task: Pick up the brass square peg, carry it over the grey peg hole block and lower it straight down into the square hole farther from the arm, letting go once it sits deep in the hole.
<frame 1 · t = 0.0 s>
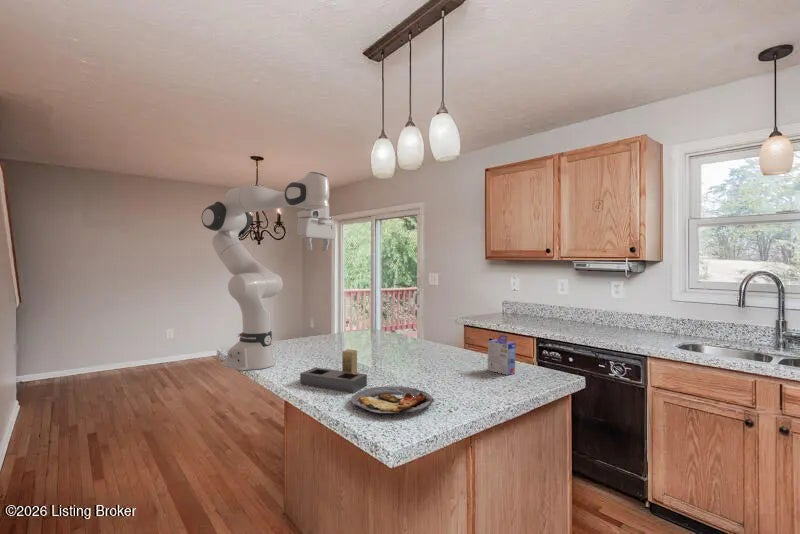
hand: (317, 250, 156), 48 cm above the countertop, tool pointing down, fingers open, 8 cm apart
grey peg hole block: (333, 385, 143), on the countertop
ink cartridge box: (501, 372, 162), on the countertop
food plate: (392, 405, 125), on the countertop
square peg: (349, 377, 154), on the countertop
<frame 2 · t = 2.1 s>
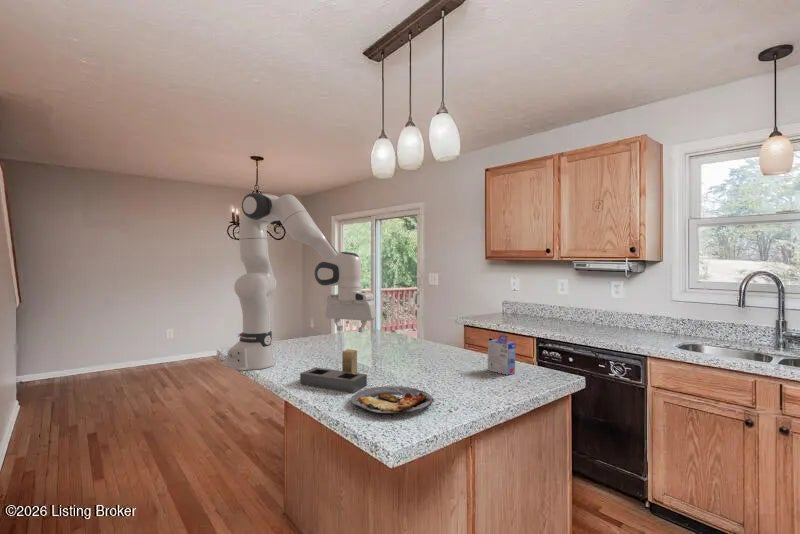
hand: (350, 331, 153), 17 cm above the countertop, tool pointing down, fingers open, 8 cm apart
nothing on the countertop moved.
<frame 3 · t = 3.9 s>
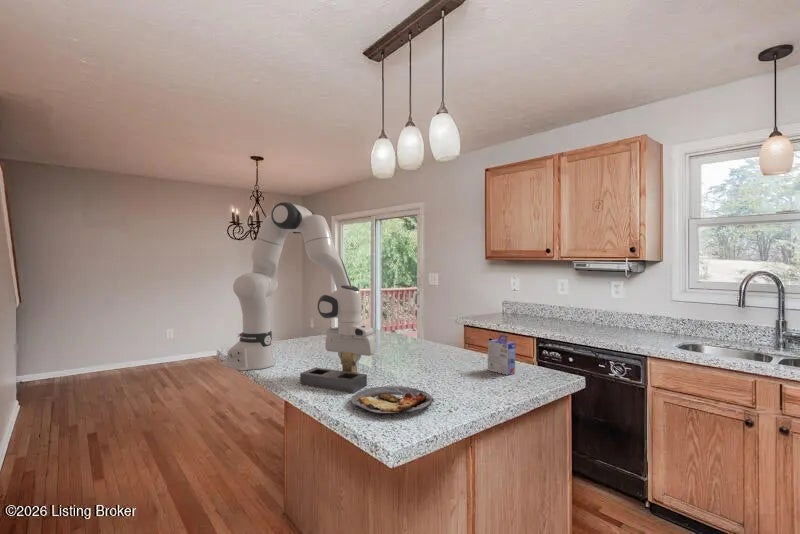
hand: (349, 364, 153), 5 cm above the countertop, tool pointing down, fingers closed on square peg, 4 cm apart
square peg: (349, 377, 154), on the countertop, touching gripper
everything else where it was.
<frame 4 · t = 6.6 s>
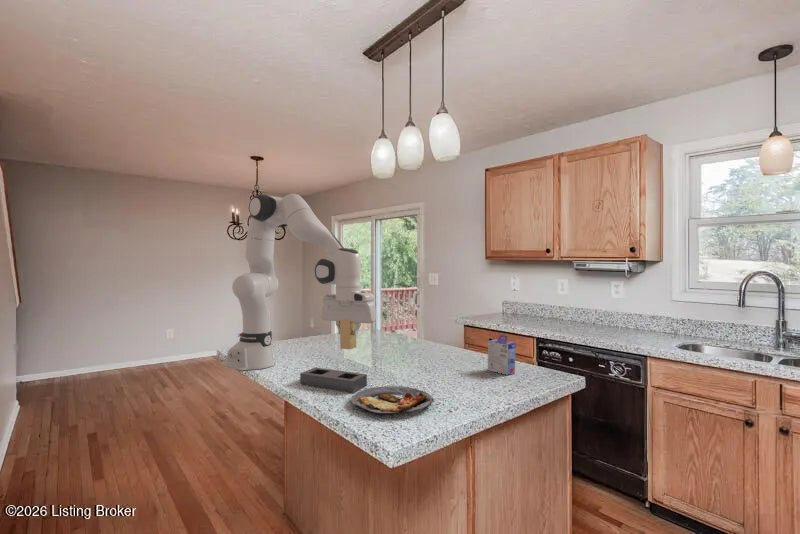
hand: (348, 334, 141), 18 cm above the countertop, tool pointing down, fingers closed on square peg, 4 cm apart
square peg: (348, 347, 141), point 14 cm above the countertop, touching gripper
everything else where it was.
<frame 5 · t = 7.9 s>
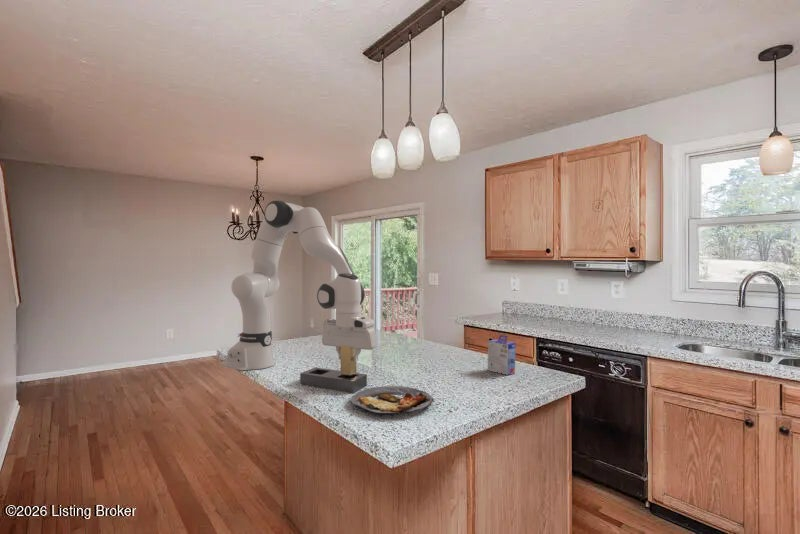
hand: (348, 360, 141), 10 cm above the countertop, tool pointing down, fingers closed on square peg, 4 cm apart
square peg: (348, 373, 141), point 5 cm above the countertop, touching gripper
everything else where it was.
when the fingers open (6 cm above the countertop, at t = 8.9 s): square peg drops 1 cm, resting in grey peg hole block.
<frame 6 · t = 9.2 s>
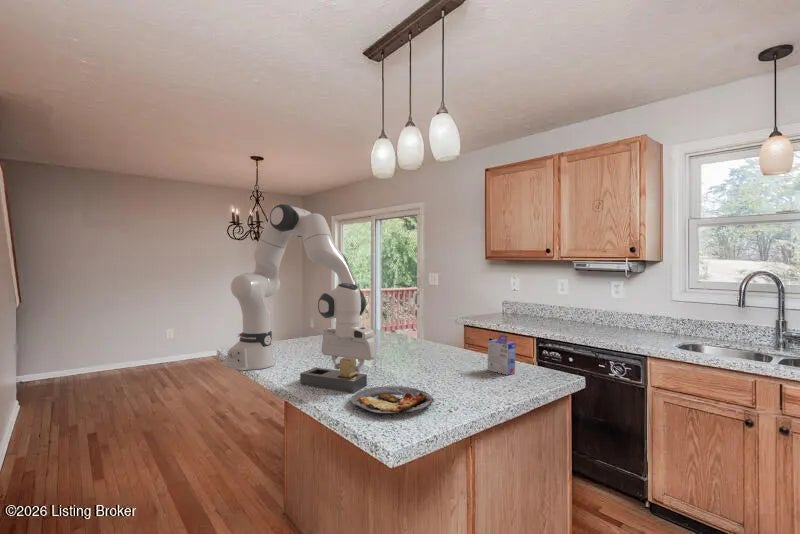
hand: (347, 370, 141), 6 cm above the countertop, tool pointing down, fingers open, 7 cm apart
square peg: (347, 387, 141), resting in grey peg hole block
everything else where it was.
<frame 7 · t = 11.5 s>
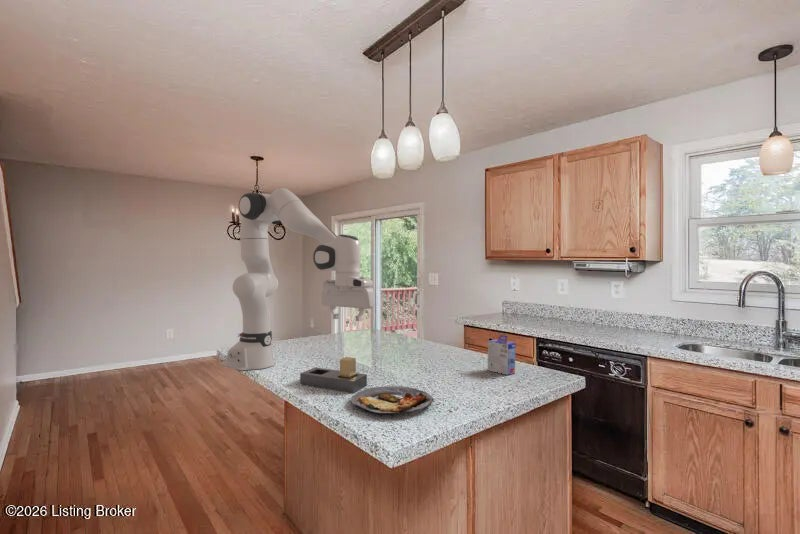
hand: (346, 319, 143), 23 cm above the countertop, tool pointing down, fingers open, 8 cm apart
nothing on the countertop moved.
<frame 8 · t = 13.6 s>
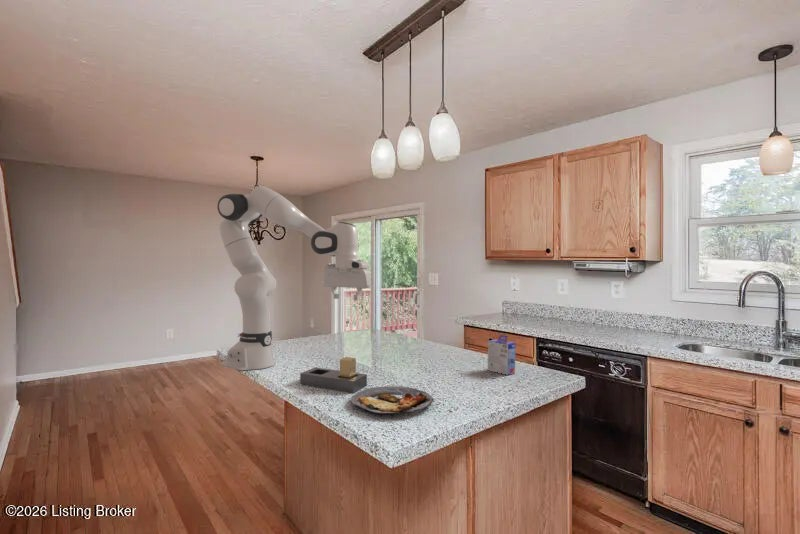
hand: (346, 299, 158), 29 cm above the countertop, tool pointing down, fingers open, 8 cm apart
nothing on the countertop moved.
at the end: square peg 0.1 cm from the target spot on the grey peg hole block, point 0.0 cm above the grey peg hole block's base; square peg tilted 0°; the gripper is holding nothing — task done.
